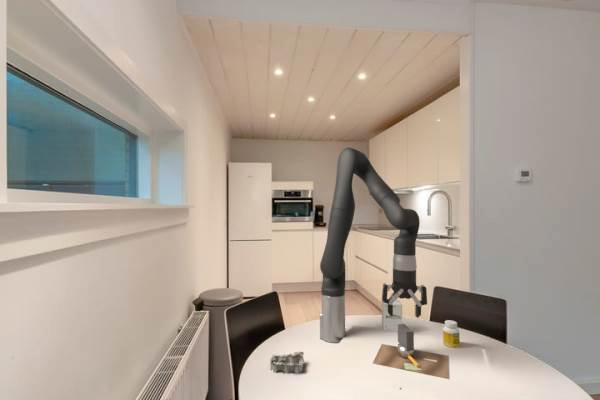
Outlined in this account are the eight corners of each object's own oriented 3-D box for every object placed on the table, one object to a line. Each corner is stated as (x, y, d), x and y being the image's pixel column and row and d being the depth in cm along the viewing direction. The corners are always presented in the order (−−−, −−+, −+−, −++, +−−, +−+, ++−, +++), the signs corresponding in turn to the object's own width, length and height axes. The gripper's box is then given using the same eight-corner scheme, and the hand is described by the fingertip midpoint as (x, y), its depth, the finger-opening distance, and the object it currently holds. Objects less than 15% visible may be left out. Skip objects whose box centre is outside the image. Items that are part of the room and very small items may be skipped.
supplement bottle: (448, 344, 115) (448, 318, 115) (462, 349, 110) (462, 322, 111) (440, 347, 112) (439, 321, 112) (454, 353, 107) (453, 325, 108)
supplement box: (384, 335, 124) (383, 303, 124) (381, 328, 131) (381, 298, 132) (403, 336, 123) (402, 304, 123) (399, 329, 130) (399, 299, 131)
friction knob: (394, 350, 106) (394, 324, 106) (408, 350, 106) (407, 323, 107) (410, 368, 94) (409, 338, 94) (425, 367, 94) (425, 337, 95)
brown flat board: (372, 368, 97) (372, 363, 98) (381, 348, 112) (381, 343, 112) (449, 384, 88) (449, 378, 88) (448, 360, 102) (448, 355, 103)
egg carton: (305, 363, 101) (305, 351, 101) (301, 375, 94) (302, 362, 94) (273, 361, 103) (273, 349, 103) (268, 373, 95) (268, 359, 95)
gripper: (423, 266, 106) (422, 313, 106) (381, 264, 108) (380, 311, 107) (429, 270, 99) (429, 321, 98) (384, 268, 101) (384, 318, 100)
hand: (404, 316), depth 103 cm, fingers open, 8 cm apart
